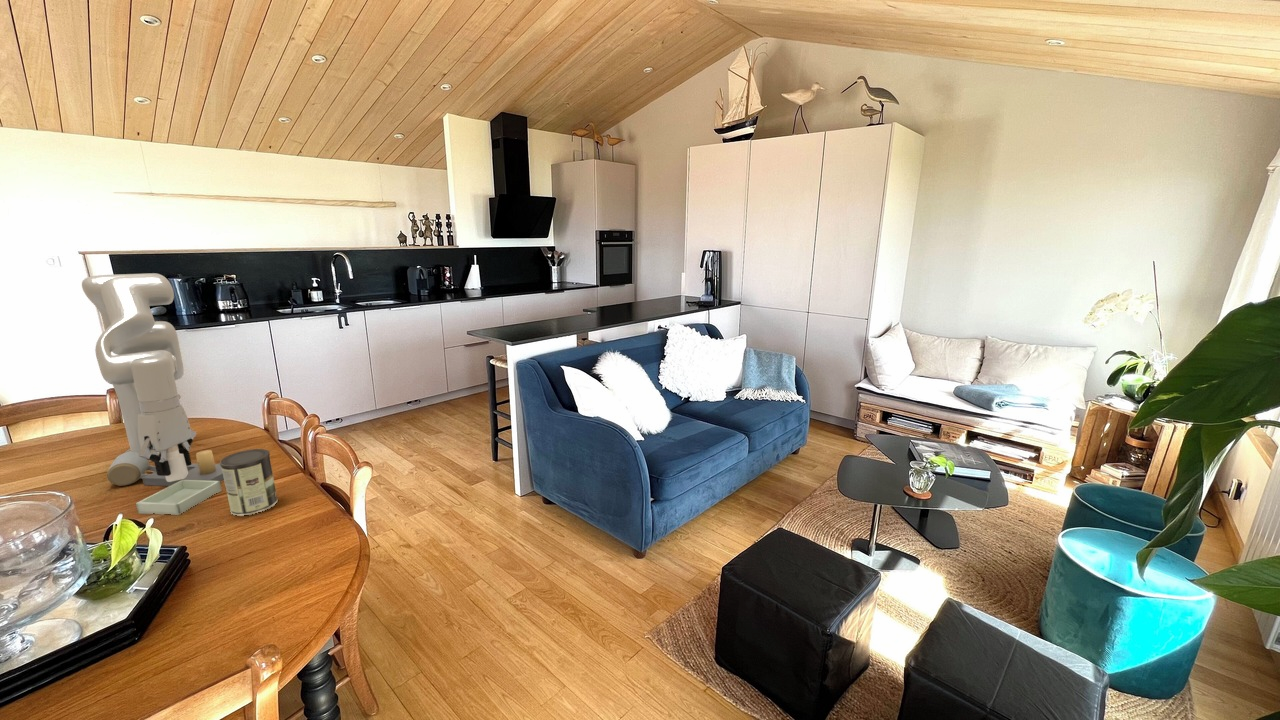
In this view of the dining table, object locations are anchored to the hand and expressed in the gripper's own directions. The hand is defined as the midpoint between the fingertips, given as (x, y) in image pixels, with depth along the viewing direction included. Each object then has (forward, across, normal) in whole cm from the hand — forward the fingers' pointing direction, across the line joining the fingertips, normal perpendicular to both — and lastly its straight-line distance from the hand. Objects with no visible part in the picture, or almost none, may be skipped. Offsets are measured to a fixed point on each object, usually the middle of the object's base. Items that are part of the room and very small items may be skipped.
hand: (174, 469), depth 137 cm
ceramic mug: (+10, -11, -24) cm, 28 cm away
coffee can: (+10, +1, +21) cm, 23 cm away
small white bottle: (+3, 0, 0) cm, 3 cm away
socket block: (+9, -13, -9) cm, 18 cm away
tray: (+9, 0, 0) cm, 9 cm away
